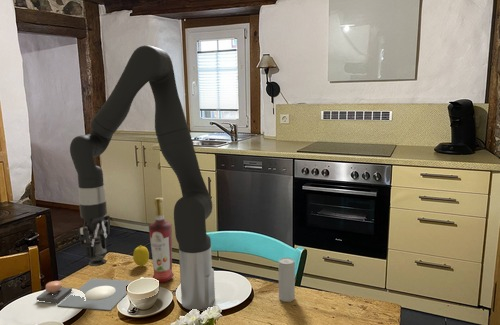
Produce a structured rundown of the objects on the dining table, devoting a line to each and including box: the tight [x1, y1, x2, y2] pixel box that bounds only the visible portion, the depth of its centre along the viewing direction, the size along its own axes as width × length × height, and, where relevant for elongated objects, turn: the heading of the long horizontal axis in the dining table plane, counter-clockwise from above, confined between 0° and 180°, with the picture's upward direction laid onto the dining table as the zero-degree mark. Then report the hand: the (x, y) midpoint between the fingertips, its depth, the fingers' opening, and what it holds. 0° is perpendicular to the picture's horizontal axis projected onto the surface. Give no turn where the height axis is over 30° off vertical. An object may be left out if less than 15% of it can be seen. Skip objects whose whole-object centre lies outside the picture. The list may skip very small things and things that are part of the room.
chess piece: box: [88, 230, 108, 267], centre depth 122 cm, size 6×6×12 cm
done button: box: [45, 280, 63, 295], centre depth 122 cm, size 4×4×3 cm
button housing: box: [36, 286, 73, 305], centre depth 123 cm, size 7×7×2 cm
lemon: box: [132, 245, 150, 268], centre depth 143 cm, size 6×6×8 cm
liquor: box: [148, 197, 175, 284], centre depth 131 cm, size 7×7×28 cm
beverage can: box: [277, 257, 296, 303], centre depth 118 cm, size 5×5×12 cm
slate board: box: [57, 278, 133, 312], centre depth 124 cm, size 17×18×1 cm
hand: (97, 253), depth 122 cm, fingers closed on chess piece, 6 cm apart
